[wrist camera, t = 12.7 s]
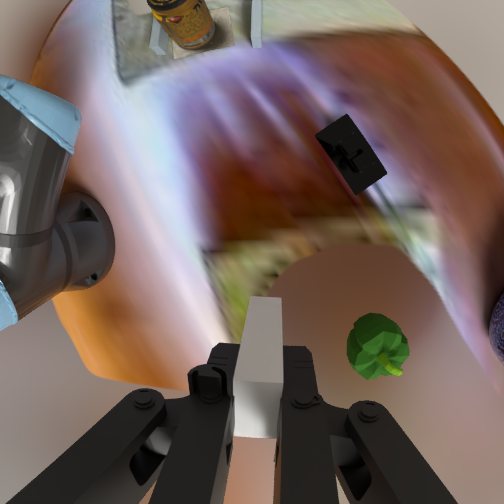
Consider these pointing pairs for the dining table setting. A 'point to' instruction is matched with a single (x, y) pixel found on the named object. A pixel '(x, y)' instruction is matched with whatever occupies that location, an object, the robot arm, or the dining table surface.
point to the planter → (497, 329)
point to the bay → (161, 36)
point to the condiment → (193, 25)
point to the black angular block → (351, 154)
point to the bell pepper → (376, 346)
